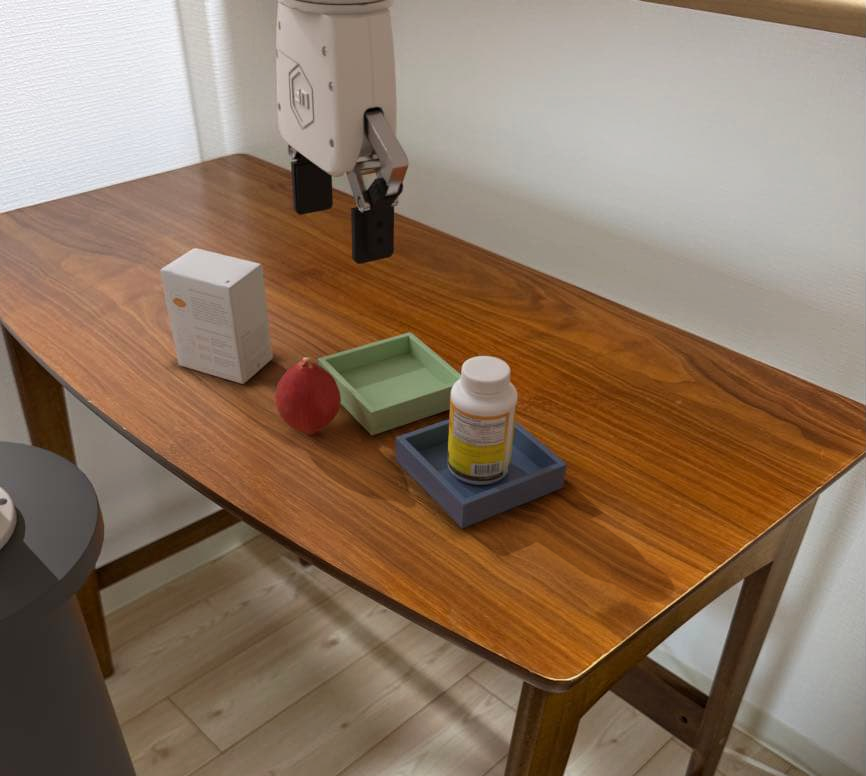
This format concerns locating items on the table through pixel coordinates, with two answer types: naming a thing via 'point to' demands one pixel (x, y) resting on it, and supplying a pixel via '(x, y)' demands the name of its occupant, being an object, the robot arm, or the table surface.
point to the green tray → (391, 382)
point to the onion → (307, 397)
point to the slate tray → (471, 503)
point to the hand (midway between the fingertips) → (342, 233)
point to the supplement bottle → (482, 421)
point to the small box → (218, 314)
